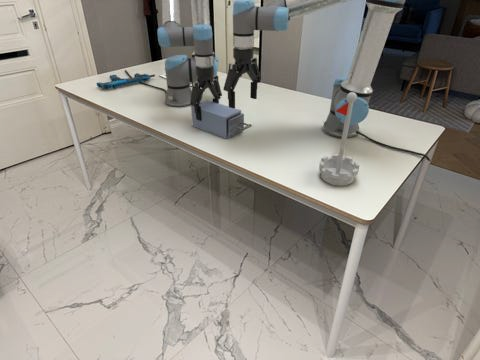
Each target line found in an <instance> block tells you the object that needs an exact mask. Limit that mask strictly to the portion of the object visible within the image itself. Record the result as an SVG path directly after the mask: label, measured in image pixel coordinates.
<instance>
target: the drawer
mask: <svg viewBox="0 0 480 360" xmlns="http://www.w3.org/2000/svg"><path fill="white" fill-rule="evenodd" d="M252 127H253V126H252V124H251V123H246V122H245V114H244V113H241V114H240V115H238V114H237V115H235V116H233V117H230V118H228V119H227V134H228V138H232V137H234V136H236V135H238V134H240V133H242V132H244V131H246V130H248V129H250V128H252Z"/></svg>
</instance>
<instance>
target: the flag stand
mask: <svg viewBox="0 0 480 360" xmlns="http://www.w3.org/2000/svg"><path fill="white" fill-rule="evenodd" d="M356 99H357V95H356V94H355V93H354V92H351V93H349V94H348V95H347V100H348V103H346V104H345V105H343V106H342V107H340V108H339V109H337V110H336V112H339V113H341V114H343V115H345V116H346V117H345V123H344V129H343V134H342V138H341V140H340V146H339V152H338V154H337V153H334V154H331V156H327V155H324V156H322V157H321V160H320V161H319V165H318V169H319V171H320V177H321V179H322V180H323V181H325V182H326V183H328V184H330V185H332V186H338V187H339V186H340V187H342V186H347V185H350V184H352V183H353V182H354V178H356V177H357V176H358V174H359V171H360V164H359V162H358V161H353V160H354V159H353V157H351V156H348V155H346V156H345V157H344V154H345V149H346V143H347V140H348V138H347V134H348V128H349V123H350V118H351V112H352V107H353V102H354V101H355V100H356Z"/></svg>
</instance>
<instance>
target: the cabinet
mask: <svg viewBox="0 0 480 360" xmlns="http://www.w3.org/2000/svg"><path fill="white" fill-rule="evenodd" d="M199 106H201V117H202V120H201V121H199V120H197V119H196V113H195V110H194V106H191V105H190V110H191V122H192V127H194V128H196V129H199V130H201V131H205V132H208V133H210V134H213V135H215V136H217V137H220V138H223V139H228V138H229V137H228V134H227V119H228V118H230V117H233V116H235V115H237V114H238V115H240V114H242V110H241V109H237V108H236V107H235V108H234V109H233V108H230V107H229V105H225V104H221V103H220V102H219V103H215V102H213V100H208V99H206V100H204V101H201V102H200V105H199Z"/></svg>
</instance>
